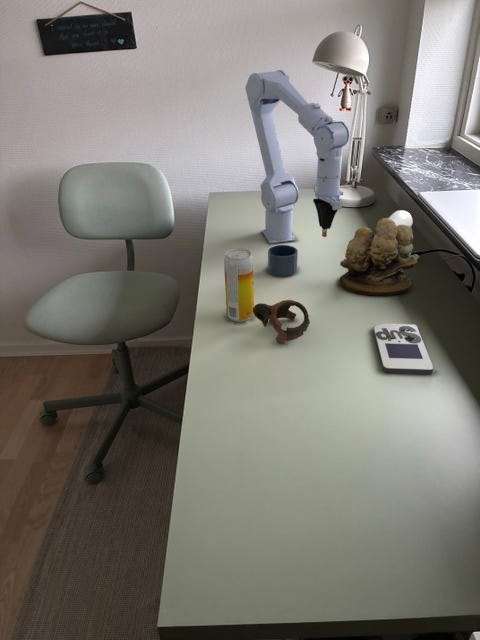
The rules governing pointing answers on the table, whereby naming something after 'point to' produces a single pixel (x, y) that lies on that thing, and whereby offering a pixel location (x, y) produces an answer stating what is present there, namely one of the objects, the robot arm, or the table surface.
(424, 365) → the handheld game console
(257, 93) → the robot arm
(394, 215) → the white rounded cylinder
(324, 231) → the baton
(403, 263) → the owl figurine
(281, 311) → the brown knobby curled ring
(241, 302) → the beer can
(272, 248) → the cup
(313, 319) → the table surface
